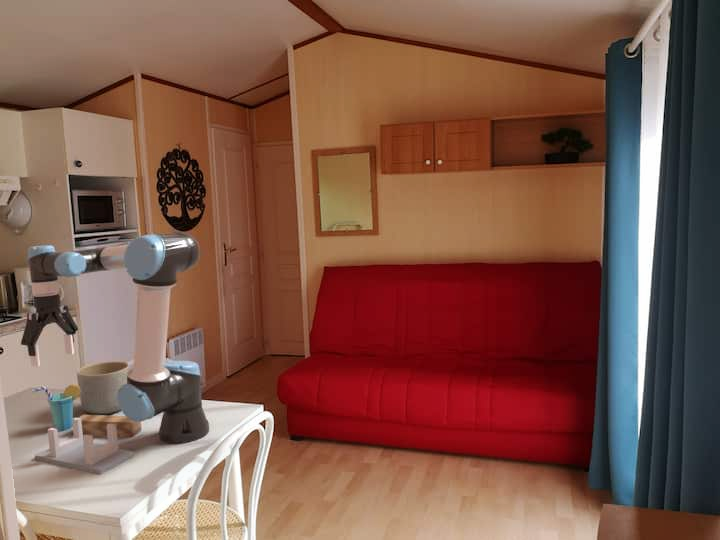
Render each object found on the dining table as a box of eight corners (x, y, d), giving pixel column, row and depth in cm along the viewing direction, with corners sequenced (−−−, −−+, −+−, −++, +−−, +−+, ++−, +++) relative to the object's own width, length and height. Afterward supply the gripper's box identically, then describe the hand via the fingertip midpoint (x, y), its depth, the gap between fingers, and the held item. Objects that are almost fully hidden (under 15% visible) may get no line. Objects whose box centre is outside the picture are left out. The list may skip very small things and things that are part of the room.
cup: (36, 437, 184) (31, 391, 182) (36, 429, 191) (31, 385, 189) (85, 427, 191) (81, 383, 189) (83, 420, 198) (79, 377, 196)
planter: (79, 407, 210) (75, 366, 208) (129, 398, 218) (125, 358, 216) (81, 422, 196) (77, 378, 194) (135, 412, 203) (131, 370, 201)
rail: (141, 431, 187) (140, 416, 187) (133, 437, 182) (132, 422, 182) (84, 429, 190) (83, 414, 190) (75, 435, 186) (73, 420, 185)
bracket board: (134, 455, 169) (131, 425, 168) (100, 474, 158) (97, 441, 157) (70, 442, 179) (67, 414, 178) (35, 459, 169) (31, 428, 167)
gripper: (67, 288, 197) (74, 349, 200) (2, 301, 174) (10, 370, 176) (85, 288, 195) (91, 350, 198) (21, 301, 171) (29, 371, 174)
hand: (53, 359), depth 187 cm, fingers open, 13 cm apart
